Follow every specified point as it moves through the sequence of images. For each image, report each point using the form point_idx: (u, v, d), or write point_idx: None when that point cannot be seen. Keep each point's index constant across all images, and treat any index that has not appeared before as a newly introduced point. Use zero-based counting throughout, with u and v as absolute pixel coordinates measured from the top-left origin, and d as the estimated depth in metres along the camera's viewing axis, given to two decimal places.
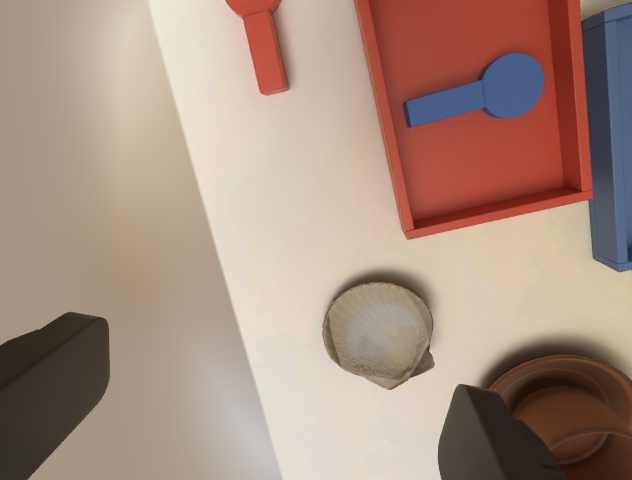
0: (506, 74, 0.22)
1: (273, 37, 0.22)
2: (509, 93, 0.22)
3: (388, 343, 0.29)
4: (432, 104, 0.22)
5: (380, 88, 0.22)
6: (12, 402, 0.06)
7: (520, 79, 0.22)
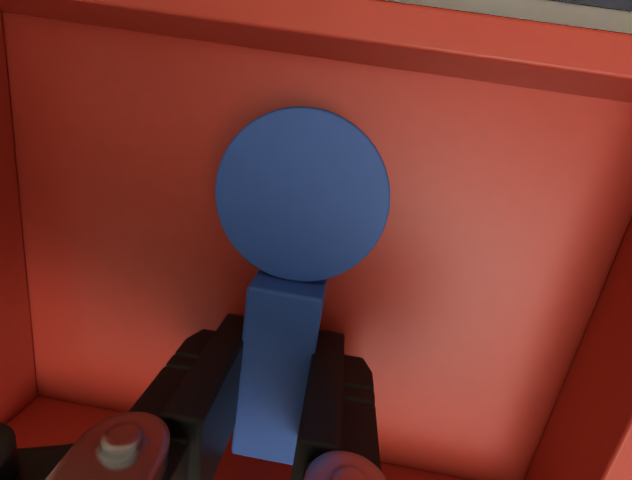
0: (265, 205, 0.08)
1: None
2: (317, 212, 0.08)
3: None
4: (262, 408, 0.08)
5: None
6: (225, 391, 0.07)
7: (292, 174, 0.07)
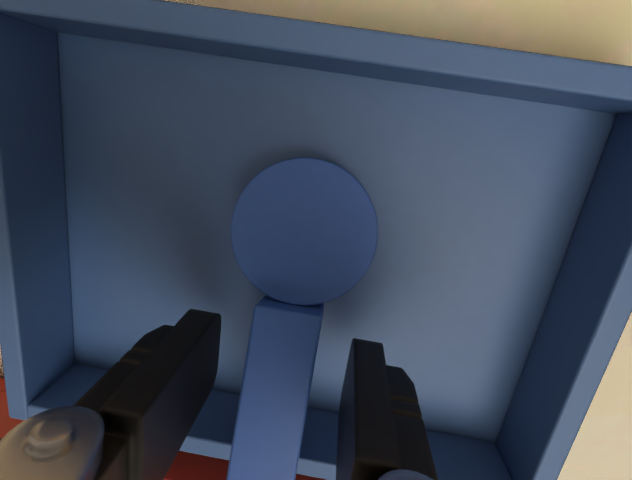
0: (273, 236, 0.09)
1: None
2: (317, 242, 0.09)
3: None
4: (260, 433, 0.09)
5: None
6: (176, 386, 0.07)
7: (297, 210, 0.09)
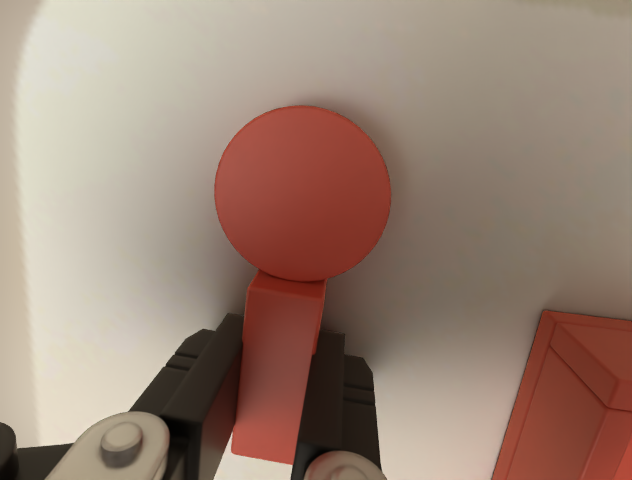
0: None
1: None
2: None
3: None
4: None
5: None
6: (225, 391, 0.07)
7: None
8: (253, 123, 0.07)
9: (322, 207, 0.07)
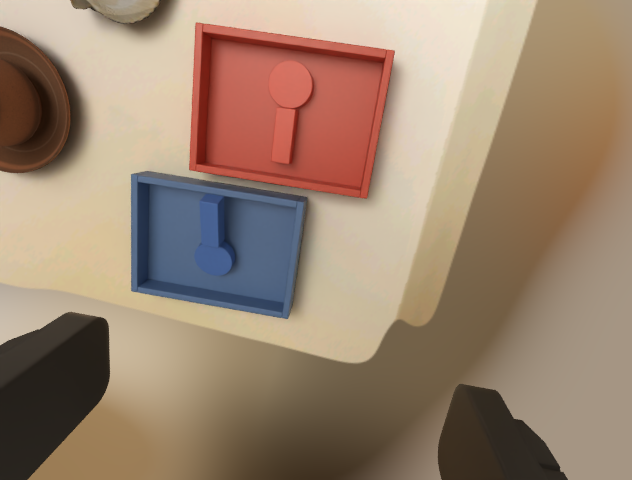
0: (220, 259, 0.34)
1: (293, 128, 0.30)
2: (208, 257, 0.34)
3: None
4: (210, 218, 0.31)
5: (317, 43, 0.28)
6: (12, 402, 0.06)
7: (215, 264, 0.34)
8: (278, 64, 0.29)
9: (295, 86, 0.30)
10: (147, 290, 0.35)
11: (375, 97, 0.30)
